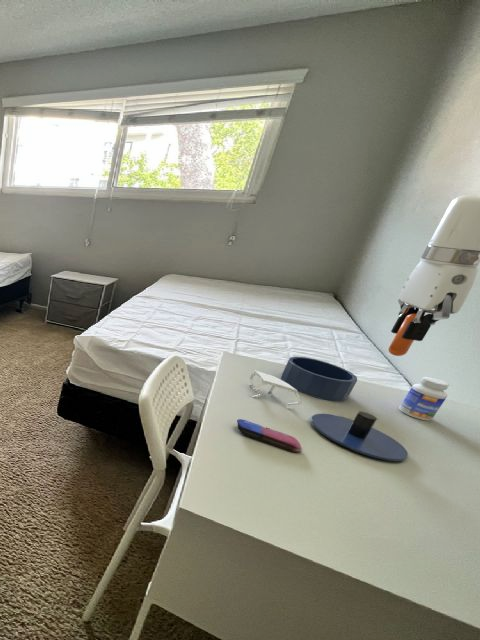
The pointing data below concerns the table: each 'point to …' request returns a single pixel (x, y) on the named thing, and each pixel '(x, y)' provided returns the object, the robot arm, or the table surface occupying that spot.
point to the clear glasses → (273, 385)
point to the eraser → (269, 436)
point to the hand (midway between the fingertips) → (406, 335)
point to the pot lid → (359, 435)
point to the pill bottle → (424, 398)
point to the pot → (319, 378)
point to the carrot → (401, 339)
